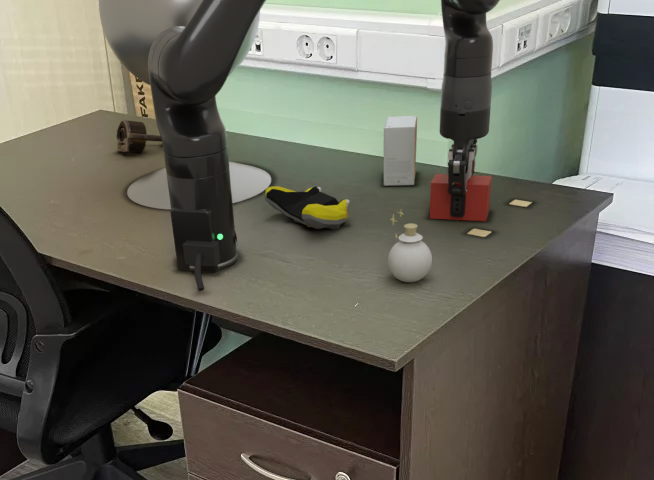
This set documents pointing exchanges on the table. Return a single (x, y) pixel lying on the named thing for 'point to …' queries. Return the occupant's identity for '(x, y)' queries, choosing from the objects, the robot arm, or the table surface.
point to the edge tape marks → (484, 233)
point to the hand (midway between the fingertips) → (459, 210)
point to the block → (474, 202)
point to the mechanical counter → (133, 136)
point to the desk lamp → (133, 52)
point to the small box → (400, 150)
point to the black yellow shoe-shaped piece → (309, 206)
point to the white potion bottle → (409, 255)
